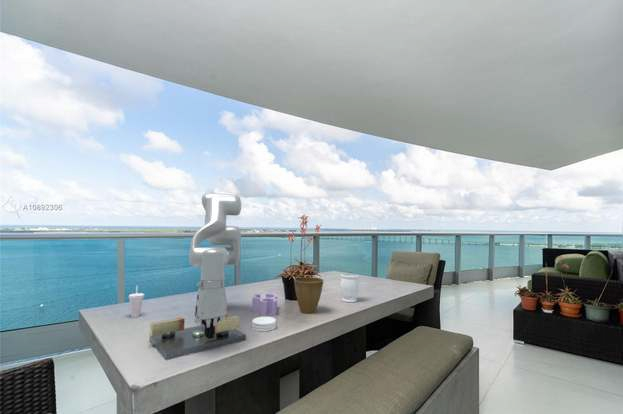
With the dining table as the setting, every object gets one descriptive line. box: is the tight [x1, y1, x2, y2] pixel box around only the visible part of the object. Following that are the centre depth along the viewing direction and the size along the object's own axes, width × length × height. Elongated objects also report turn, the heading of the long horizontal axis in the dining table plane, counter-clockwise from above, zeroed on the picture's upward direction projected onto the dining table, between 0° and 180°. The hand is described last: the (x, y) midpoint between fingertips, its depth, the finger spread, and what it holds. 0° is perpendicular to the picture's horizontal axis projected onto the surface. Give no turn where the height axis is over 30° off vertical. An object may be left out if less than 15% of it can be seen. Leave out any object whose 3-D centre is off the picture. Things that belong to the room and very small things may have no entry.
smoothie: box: [128, 285, 145, 318], centre depth 143 cm, size 6×6×14 cm
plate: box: [149, 325, 247, 360], centre depth 115 cm, size 20×28×3 cm
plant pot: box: [293, 276, 324, 314], centre depth 158 cm, size 15×15×16 cm
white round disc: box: [251, 316, 277, 333], centre depth 131 cm, size 10×10×4 cm
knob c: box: [210, 315, 240, 336], centre depth 116 cm, size 11×4×5 cm, turn 131°
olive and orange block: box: [149, 316, 186, 338], centre depth 113 cm, size 11×4×5 cm, turn 133°
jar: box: [340, 273, 360, 303], centre depth 182 cm, size 11×10×15 cm
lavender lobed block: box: [251, 292, 278, 317], centre depth 157 cm, size 20×12×7 cm, turn 19°
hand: (209, 337), depth 109 cm, fingers closed
